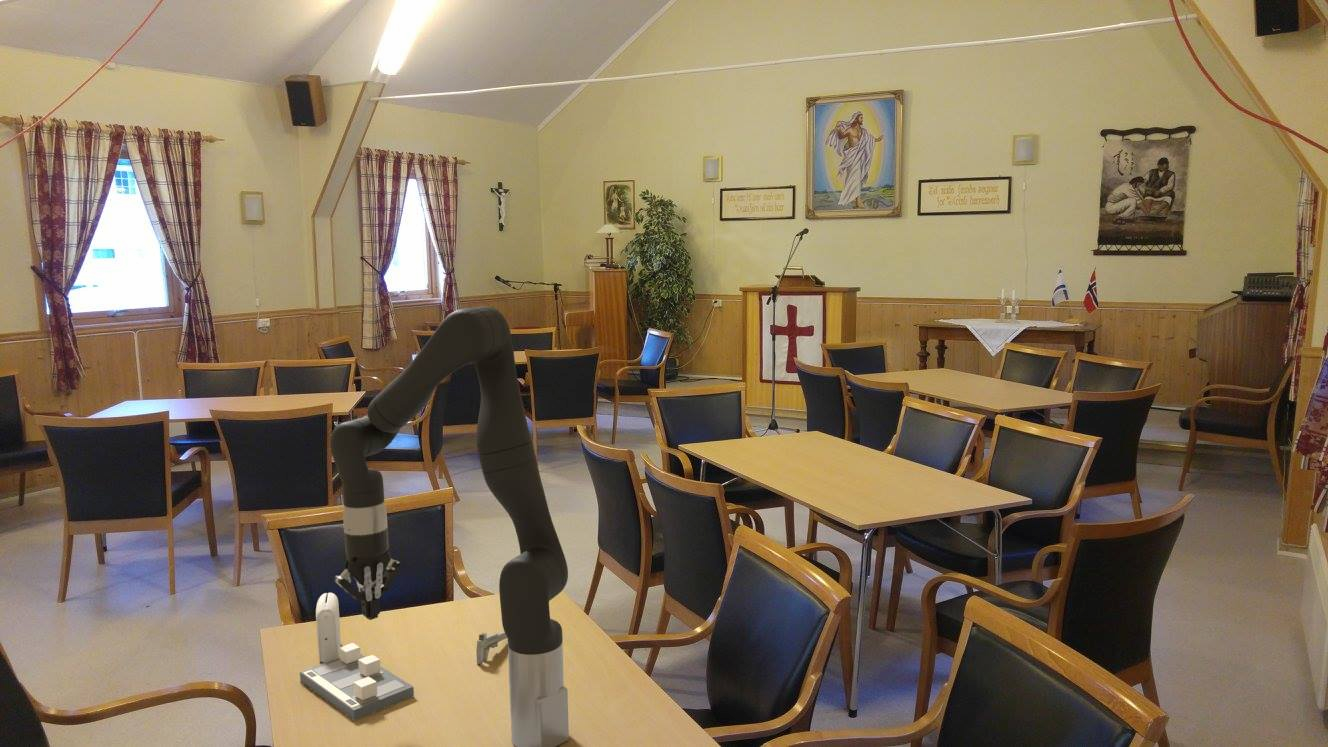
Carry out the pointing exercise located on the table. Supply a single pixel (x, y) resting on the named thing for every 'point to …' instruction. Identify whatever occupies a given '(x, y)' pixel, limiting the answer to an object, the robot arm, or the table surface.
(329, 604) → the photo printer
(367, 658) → the middle tab
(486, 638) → the caliper
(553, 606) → the table surface
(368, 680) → the tab
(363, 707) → the switch board
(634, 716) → the table surface
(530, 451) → the robot arm
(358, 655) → the tab
